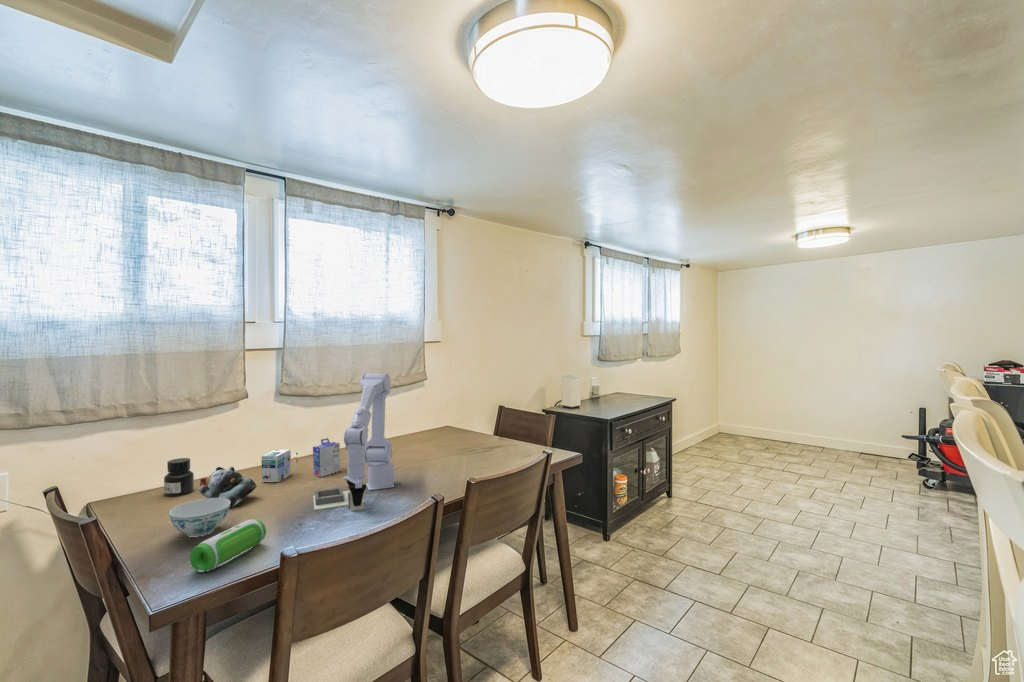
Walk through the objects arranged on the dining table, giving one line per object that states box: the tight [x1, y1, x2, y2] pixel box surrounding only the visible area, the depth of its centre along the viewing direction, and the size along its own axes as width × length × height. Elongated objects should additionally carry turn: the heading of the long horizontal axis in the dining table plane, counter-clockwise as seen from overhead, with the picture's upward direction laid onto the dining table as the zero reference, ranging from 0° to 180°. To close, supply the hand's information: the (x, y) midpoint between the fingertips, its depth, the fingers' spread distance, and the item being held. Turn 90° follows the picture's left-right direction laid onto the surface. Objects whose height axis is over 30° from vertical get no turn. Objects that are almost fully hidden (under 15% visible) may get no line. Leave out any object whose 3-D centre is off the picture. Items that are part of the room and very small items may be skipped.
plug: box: [347, 490, 364, 512], centre depth 154 cm, size 5×4×6 cm
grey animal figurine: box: [198, 466, 258, 509], centre depth 158 cm, size 15×12×14 cm
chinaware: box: [168, 498, 230, 537], centre depth 135 cm, size 15×15×8 cm
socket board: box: [312, 487, 365, 512], centre depth 161 cm, size 16×14×2 cm
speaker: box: [189, 518, 267, 572], centre depth 120 cm, size 18×7×8 cm, turn 165°
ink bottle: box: [163, 457, 195, 497], centre depth 169 cm, size 10×9×12 cm
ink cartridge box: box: [312, 437, 341, 478], centre depth 192 cm, size 10×6×14 cm, turn 148°
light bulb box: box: [261, 448, 292, 483], centre depth 185 cm, size 11×7×11 cm, turn 179°
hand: (356, 502), depth 154 cm, fingers open, 5 cm apart
